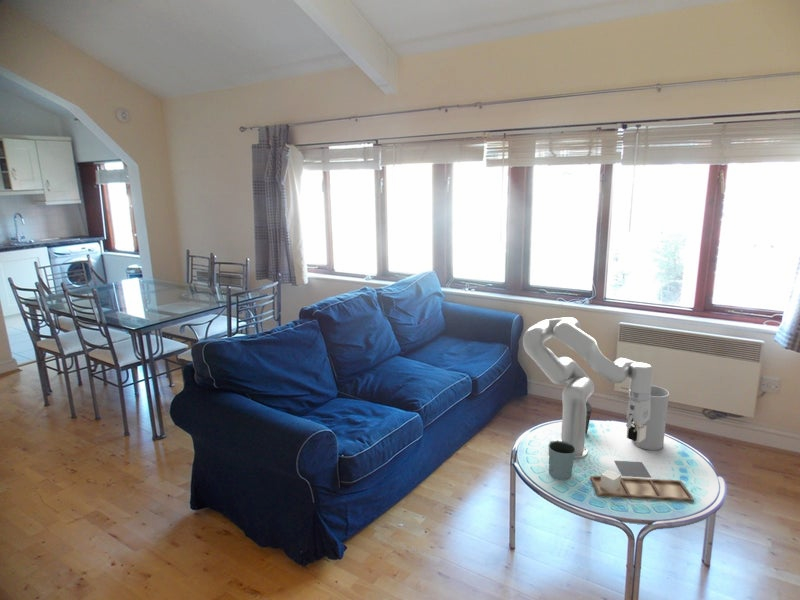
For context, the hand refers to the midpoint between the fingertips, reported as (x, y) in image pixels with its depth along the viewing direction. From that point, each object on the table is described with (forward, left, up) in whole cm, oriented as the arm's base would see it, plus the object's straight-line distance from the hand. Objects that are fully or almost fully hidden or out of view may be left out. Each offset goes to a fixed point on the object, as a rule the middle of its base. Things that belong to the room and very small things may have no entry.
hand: (635, 436), depth 197 cm
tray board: (-2, -14, -15) cm, 20 cm away
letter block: (0, 0, -1) cm, 1 cm away
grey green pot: (-29, -6, -15) cm, 33 cm away
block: (-13, -14, -14) cm, 24 cm away
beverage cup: (-13, +30, -15) cm, 36 cm away
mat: (0, 0, -15) cm, 15 cm away
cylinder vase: (+13, +22, -15) cm, 30 cm away
